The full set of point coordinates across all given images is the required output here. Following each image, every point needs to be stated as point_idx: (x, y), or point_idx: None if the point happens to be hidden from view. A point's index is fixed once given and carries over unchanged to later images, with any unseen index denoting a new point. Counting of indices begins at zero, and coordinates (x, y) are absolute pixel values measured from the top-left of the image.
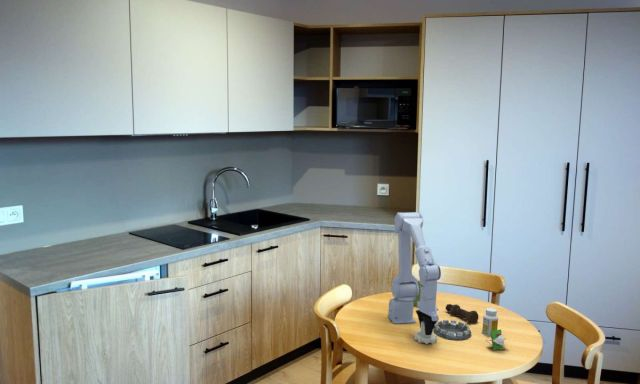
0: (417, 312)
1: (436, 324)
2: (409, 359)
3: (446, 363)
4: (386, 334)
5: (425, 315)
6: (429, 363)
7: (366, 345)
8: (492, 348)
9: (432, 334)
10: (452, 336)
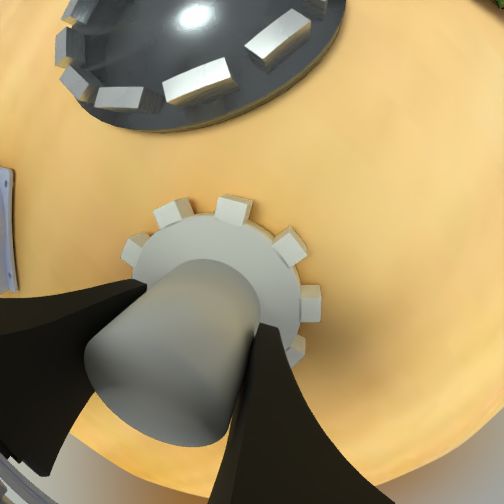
0: (40, 474)
1: (76, 87)
2: (369, 464)
3: (501, 362)
4: None
5: (31, 396)
6: (447, 423)
7: (193, 483)
8: (498, 5)
9: (202, 226)
10: (300, 47)
